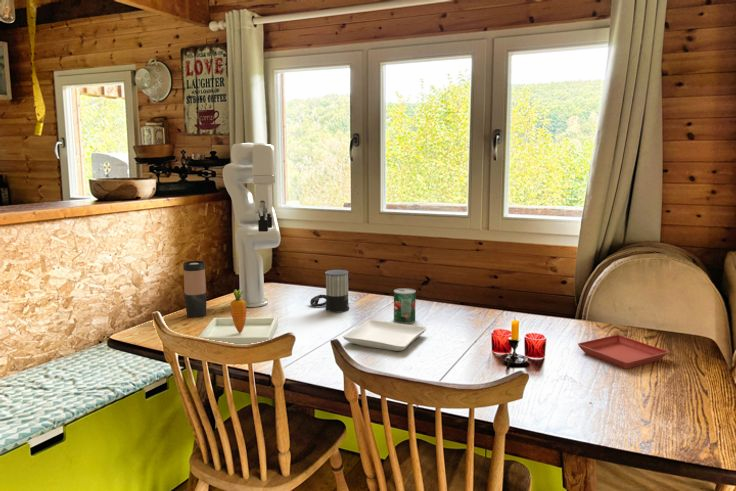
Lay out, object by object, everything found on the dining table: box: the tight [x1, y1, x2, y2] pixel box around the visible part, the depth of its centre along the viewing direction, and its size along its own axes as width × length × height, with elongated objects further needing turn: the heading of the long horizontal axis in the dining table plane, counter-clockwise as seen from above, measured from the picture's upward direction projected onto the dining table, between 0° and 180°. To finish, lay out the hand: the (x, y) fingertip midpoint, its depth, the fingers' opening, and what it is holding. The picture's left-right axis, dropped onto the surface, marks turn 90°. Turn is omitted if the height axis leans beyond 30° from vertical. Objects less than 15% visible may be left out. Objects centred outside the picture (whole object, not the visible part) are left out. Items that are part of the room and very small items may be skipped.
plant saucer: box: [577, 334, 669, 370], centre depth 169 cm, size 18×18×3 cm
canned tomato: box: [393, 287, 417, 325], centre depth 206 cm, size 8×8×11 cm
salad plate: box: [342, 319, 427, 352], centre depth 184 cm, size 21×21×3 cm
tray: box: [197, 316, 279, 344], centre depth 189 cm, size 22×22×3 cm
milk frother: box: [309, 269, 350, 313], centre depth 223 cm, size 14×16×15 cm
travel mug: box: [182, 260, 207, 319], centre depth 212 cm, size 8×8×20 cm
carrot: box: [230, 289, 247, 333], centre depth 188 cm, size 5×5×15 cm
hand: (265, 229), depth 200 cm, fingers open, 9 cm apart
